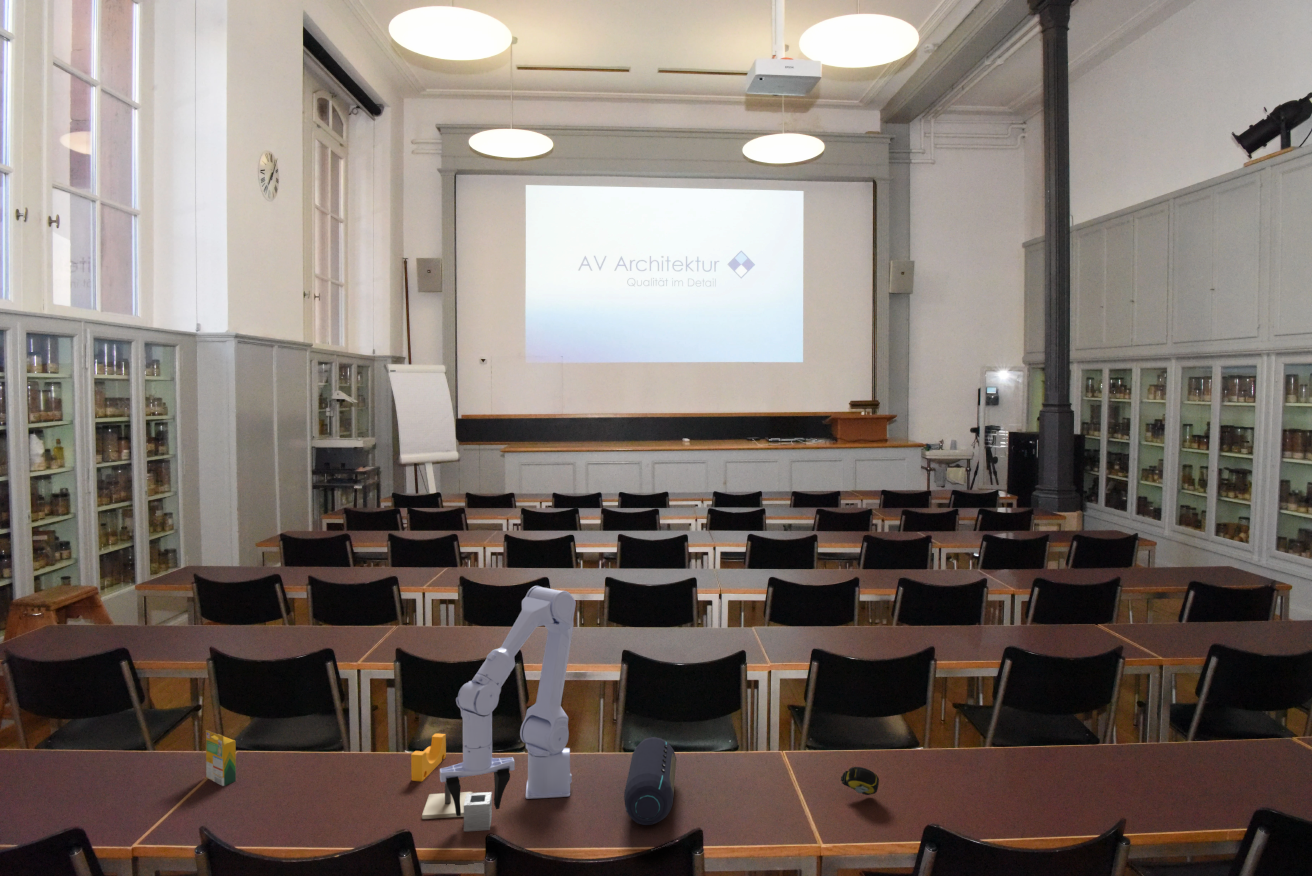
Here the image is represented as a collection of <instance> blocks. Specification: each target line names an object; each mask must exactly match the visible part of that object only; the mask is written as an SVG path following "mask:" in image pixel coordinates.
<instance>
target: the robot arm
mask: <svg viewBox="0 0 1312 876" xmlns="http://www.w3.org/2000/svg"><path fill="white" fill-rule="evenodd" d="M576 603H577V602H576V600H575V598H574V597H573V595H572V594H571V593H570V592H569V591H567V590H559V589H553V588H547V587H543V586H540V585H534V586H532V587H531V588H530V589H528V590H527V593H526V595H525V597H524V598H523V599H522V600H521V611H520V612H519V614H518V617H517V618H516V619H515V622H514V623H513V625H512V627H511V629H510V630H509V632H508V633H507V636H506V637H505V639H504V640H503V643H502V645H501V646H500V647H499V648H495V649H492V650H491V651H490V652H489V653H488V654H487V656H485V658H486V659H485V661H484V662H482V665H481V666H480V668H479V669H478V671H477V672H476V674H475V675H474V676H473V678H472V680H469V681H468V682H466V683H464V684H463V685H462V686H461V687H460V689H459V691H458V694H457V697H456V698H455V702H456V706H457V707H458V708H459V709H460V710H459V711H460V717H461V718H462V762H459V763H457V764H456V763H455V764H452V765H449V766H445V767H441V768H439V781H440V783H446V784H447V787H448V789H449V791H450V793H451V795H452V797H453V800H454V804H455V811H456V815H457V816H461V808H460V792H461V787H462V786H461V783H460V779H461V778H466V777H473V776H480V775H481V776H482V775H485V774H491V773H493V776H494V777H493V778H494V794H493V804H494V808H495V810H498V809H499V810H500V807H501V802H502V797H503V795H504V791H505V790H506V787H507V786H508V783H509V781H510V779H511V773H510V772H511V771H515V770H516V769H515V763H516V762H515V759H514V757H513V756H512V757H493V711H494V710H495V709H496V708H497V707H498V704H499V700H500V694H501V692H502V686H503V685H504V684H505V682H506V680H507V679H508V677H510V674H511V673H512V671H513V670H514V668H515V666H516V662H515V661H516V660H515V656H516V655H517V654H518V652H519V651H520V649H521V648H523V647H522V646H524V645H525V643H526V642H527V640H528V639H529V638H530V637H531V635H532V634H533V633H534V631H535V630H536V628H538V627H543V626H544V628H545V629H546V631H547V635H546V641H545V647H544V653H543V658H542V659H543V660H542V665H541V671H540V678H539V684H538V689H537V693H536V700H535V703H534V704H532V705H531V706H530V707H528V708H527V709H526V712H525V713H526V714H525V717H524V720H523V722H522V723H521V726H520V730H519V736H520V740H521V741H522V743H524V744H525V749H526V750H527V780H526V787H525V788H526V789H525V799H526V800H528V799H531V800H533V799H535V800H536V799H548V798H563V797H570V796H571V783H572V782H573V781H572V780H573V779H572V777H573V776H572V773H571V748H570V747H566V746H567V744H568V742H569V737H570V736H569V735H570V733H569V725H568V724H569V716H568V715H567V713H566V712H565V710H564V709H563V707H562V706H561V705H562V699H563V693H564V688H565V682H566V681H565V680H566V676H567V675H566V674H567V668H568V662H569V656H570V651H571V646H572V645H571V644H572V643H571V642H572V639H573V638H572V637H573V631H574V626H575V625H574V623H575V622H574V618H575V610H576V607H577V606H576Z"/></svg>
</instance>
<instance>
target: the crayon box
mask: <svg viewBox="0 0 1312 876" xmlns="http://www.w3.org/2000/svg"><path fill="white" fill-rule="evenodd" d="M236 746H237V745H236V740H235V739H231V738H229V737H226V736H224V735H222V734H219V733H216V732H213V731H210V730H207V729H205V758H206V759H205V766H206V767H205V772H206V773H205V775H206V776H205V778H206V779H209V780H210V781H213V782H214V783H216V784H218V785H220V786H222V787H225V786H228V785H230V784H232V783H234V782H236V781H237V778H236V777H237V771H236V770H237V768H236V767H237V766H236V765H237V764H236V759H237V755H236V754H237V753H236V750H237V749H236Z"/></svg>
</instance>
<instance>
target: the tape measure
mask: <svg viewBox="0 0 1312 876" xmlns="http://www.w3.org/2000/svg"><path fill="white" fill-rule="evenodd" d="M840 781H841V784H842V785H844V786H846V787H847V788H849V789H851V790H853V791H856V793H859V794H862V795H865V796H871V795H874V794H876V793H877V792H878V789H879V786H880V785H879V783H880V779H879V776H878V775H877V774H876V773H875V772H874V771H872V770H871V769H868V768H865V767H861V766H853V767H850V768H849V769H848V770H845V771H843V773H842V775H841V778H840Z"/></svg>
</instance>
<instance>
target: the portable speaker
mask: <svg viewBox="0 0 1312 876" xmlns="http://www.w3.org/2000/svg"><path fill="white" fill-rule="evenodd" d="M630 759H631V761H630V764H629V769H628V774H627V778H626V779H627V780H626V783H625V788H624V793H623V794H624V795H623V799H624V800H623V801H624V806H625V811H626V814H627V815H628V816H629V818H631V820H632V821H633V822H635V823H637V824H638V825H642V826H651V825H656V824H657V823H660V822H661V821H663V820H664V819H665V818H667V816H668V815H669V813H670V812H671V810H672V807H673V805H674V804H673V802H674V792H675V782H676V770H677V769H676V767H677V757H676V753H675V750H674V749H673V747H672V746H671V744H670V743H668V741H666V740H664V739H662V738H661V737H656V736H653V737H647V738H645V739H643V740H642V741H640V742H639V743H638V744H637V745H636V746H635V749H634V750H633V753H632V755H631V758H630Z"/></svg>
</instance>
